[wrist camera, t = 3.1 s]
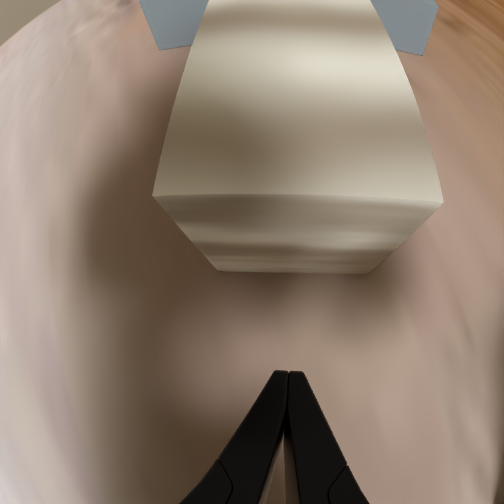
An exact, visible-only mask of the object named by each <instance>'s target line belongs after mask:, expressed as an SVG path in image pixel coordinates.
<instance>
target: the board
mask: <svg viewBox="0 0 504 504" xmlns="http://www.w3.org/2000/svg"><path fill="white" fill-rule="evenodd" d="M208 1H209V0H140V1H139V3H140V5H141V7H142V10H143V12H144V15H145V17H146V20H147V22H148V24H149V27H150V29H151V32H152V34H153V36H154V39H155V41H156V44H157V46H158V48H159V50H164V49H170V48H176V47H183V46H190V45H192V44H193V41H194V38H195V36H196V33H197V30H198V27H199V25H200V22H201V19H202V17H203V14H204V11H205V9H206V6H207V4H208ZM370 1H371V3H372V5H373V7H374V8H375V10H376V12H377V14H378V16H379V18H380V20H381V22H382V23H383V25H384V27H385V29H386V31H387V33H388V35H389V38H390V40H391V42H392V44H393V46H394V48H395V50H398V51H403V52H408V53H413V54H418V55H423V52H424V50H425V47H426V44H427V41H428V38H429V35H430V32H431V29H432V26H433V23H434V20H435V16H436V13H437V10H438V7H439V6H438V4H437V3H436V2H435V1H434V0H370Z"/></svg>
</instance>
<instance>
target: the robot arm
mask: <svg viewBox="0 0 504 504" xmlns="http://www.w3.org/2000/svg"><path fill="white" fill-rule="evenodd" d="M283 432H284V436H283ZM282 439H283V441H284V464H285V487H286V504H369V502H368V501H367V499H366V497H365V496H364V494H363V493H362V491H361V489H360V487H359V486H358V484H357V482H356V480H355V478H354V476H353V474H352V472H351V470H350V468H349V466H348V465H347V462H346V460H345V458H344V456H343V454H342V452H341V449H340V447H339V445H338V443H337V441H336V439H335V437H334V435H333V433H332V431H331V429H330V426H329V424H328V422H327V420H326V418H325V416H324V414H323V412H322V410H321V408H320V406H319V403H318V401H317V399H316V397H315V395H314V393H313V391H312V389H311V387H310V385H309V382H308V380H307V378H306V376H305V374H304V373H303V372H302V371H290V372H289V373H288V371H283V370H275V371H274V372H273V373H272V375H271V377H270V378H269V380H268V382H267V383H266V385H265V387H264V388H263V390H262V392H261V393H260V395H259V396H258V398H257V400H256V401H255V403H254V404H253V406H252V407H251V409H250V411H249V412H248V414H247V415H246V417H245V418H244V420H243V421H242V423H241V424H240V426H239V428H238V429H237V431H236V432H235V434H234V435H233V437H232V438H231V440H230V441H229V442H228V444H227V445H226V447H225V448H224V450H223V451H222V453H221V454H220V456H219V457H218V458H219V459H217V460H216V461H215V463H214V464H213V465H212V467H211V468H210V470H209V471H208V472H207V473H206V475H205V476H204V477H203V478H202V480H201V481H200V482H199V483H198V484H197V486H196V487H195V488H194V489H193V490H192V491H191V492H190V493H189V494H188V495H187V496H186V497H185V498H184V499H183V500H182V501H181V502H180V503H179V504H266V502H267V498H268V495H269V491H270V487H271V484H272V480H273V476H274V472H275V468H276V464H277V460H278V456H279V452H280V448H281V444H282ZM346 465H347V466H346Z"/></svg>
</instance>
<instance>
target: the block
mask: <svg viewBox="0 0 504 504" xmlns="http://www.w3.org/2000/svg"><path fill="white" fill-rule="evenodd" d="M152 197H153V198H154V199H155V200H156V201H157V202H158V204H159V205H160V206H161V207H162V208H163V209H164V211H165V212H166V213H167V214H168V215H169V216H170V218H171V219H172V220H173V221H174V222H175V223H176V224H177V226H178V227H179V228H180V229H181V230H182V231H183V232H184V234H185V235H186V236H187V237H188V238H189V239H190V240H191V242H192V243H193V244H194V245H195V246H196V247H197V248H198V249H199V251H200V252H201V253H202V254H203V255H204V256H205V257H206V258H207V260H208V261H209V262H210V263H211V264H212V265H213V266H214V267H215V268H216V270H217V271H238V272H274V273H320V274H369V273H370V272H371V271H372V270H373V269H374V268H375V267H377V266H378V265H379V264H380V263H381V262H382V261H383V260H384V259H385V258H387V257H388V256H389V255H390V254H391V253H392V252H393V251H394V250H395V249H396V248H397V247H398V246H400V245H401V244H402V243H403V242H404V241H405V240H406V239H407V238H408V237H409V236H410V235H411V234H412V233H413V232H414V231H415V230H416V229H417V228H418V227H419V226H420V225H421V224H422V223H423V222H424V221H425V220H427V219H428V218H429V217H430V216H431V215H432V214H433V213H434V211H435V210H436V209H437V208H438V207H439V206H440V205H441V204H442V203H443V197H442V192H441V188H440V183H439V179H438V174H437V170H436V166H435V162H434V158H433V154H432V151H431V147H430V143H429V140H428V136H427V133H426V130H425V127H424V123H423V120H422V117H421V114H420V111H419V108H418V105H417V103H416V100H415V97H414V94H413V92H412V89H411V86H410V84H409V81H408V79H407V76H406V74H405V71H404V69H403V66H402V64H401V62H400V59H399V57H398V55H397V53H396V50H395V48H394V46H393V44H392V42H391V40H390V38H389V35H388V33H387V31H386V29H385V27H384V25H383V23H382V22H381V20H380V18H379V16H378V14H377V12H376V10H375V8H374V7H373V5H372V3H371V1H370V0H209V1H208V4H207V6H206V9H205V11H204V14H203V17H202V19H201V22H200V25H199V27H198V30H197V33H196V36H195V38H194V41H193V44H192V47H191V50H190V53H189V56H188V59H187V62H186V65H185V68H184V71H183V75H182V78H181V81H180V84H179V88H178V91H177V95H176V98H175V102H174V105H173V109H172V112H171V116H170V120H169V124H168V127H167V131H166V135H165V139H164V143H163V148H162V152H161V156H160V160H159V165H158V169H157V174H156V179H155V183H154V188H153V193H152Z"/></svg>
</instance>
